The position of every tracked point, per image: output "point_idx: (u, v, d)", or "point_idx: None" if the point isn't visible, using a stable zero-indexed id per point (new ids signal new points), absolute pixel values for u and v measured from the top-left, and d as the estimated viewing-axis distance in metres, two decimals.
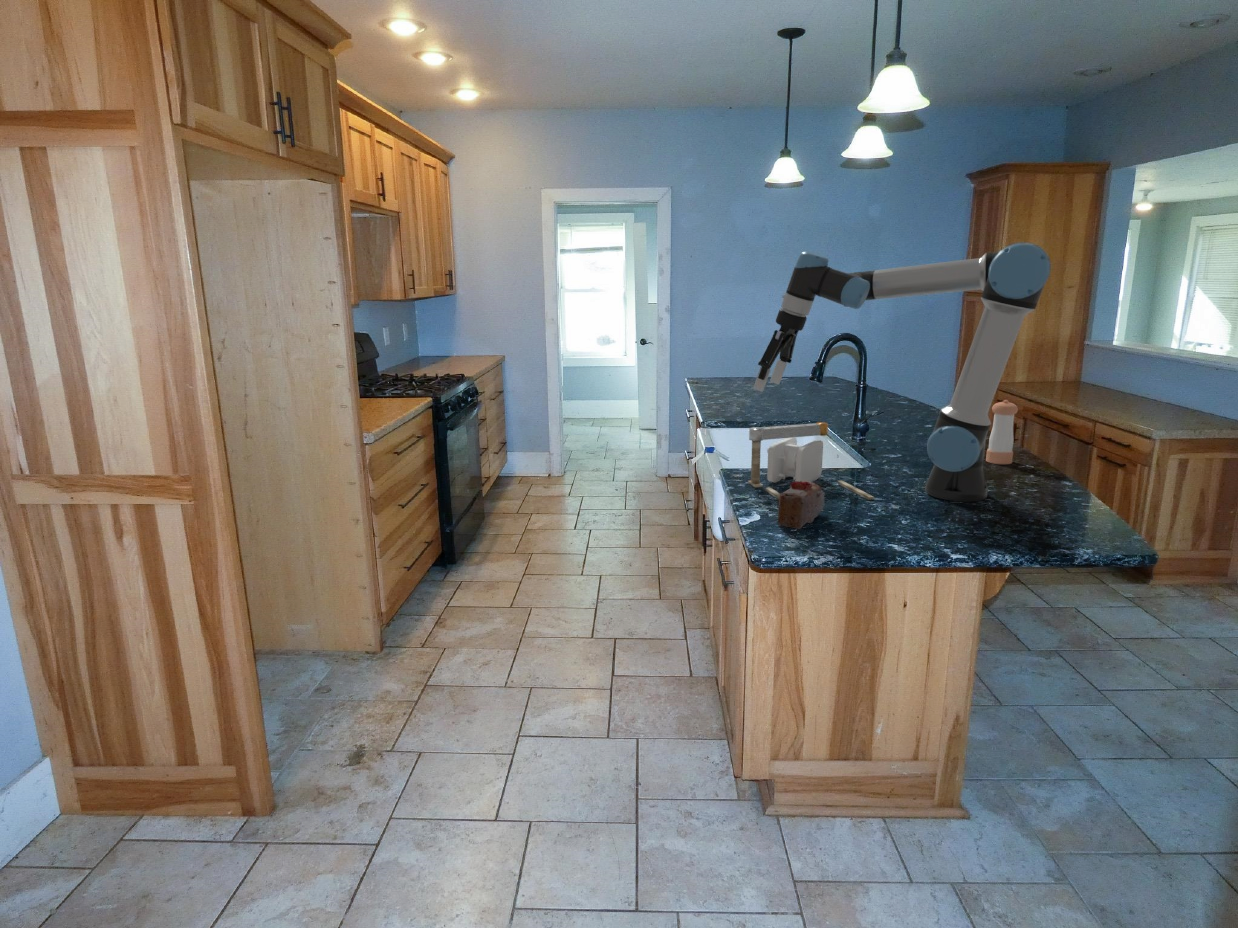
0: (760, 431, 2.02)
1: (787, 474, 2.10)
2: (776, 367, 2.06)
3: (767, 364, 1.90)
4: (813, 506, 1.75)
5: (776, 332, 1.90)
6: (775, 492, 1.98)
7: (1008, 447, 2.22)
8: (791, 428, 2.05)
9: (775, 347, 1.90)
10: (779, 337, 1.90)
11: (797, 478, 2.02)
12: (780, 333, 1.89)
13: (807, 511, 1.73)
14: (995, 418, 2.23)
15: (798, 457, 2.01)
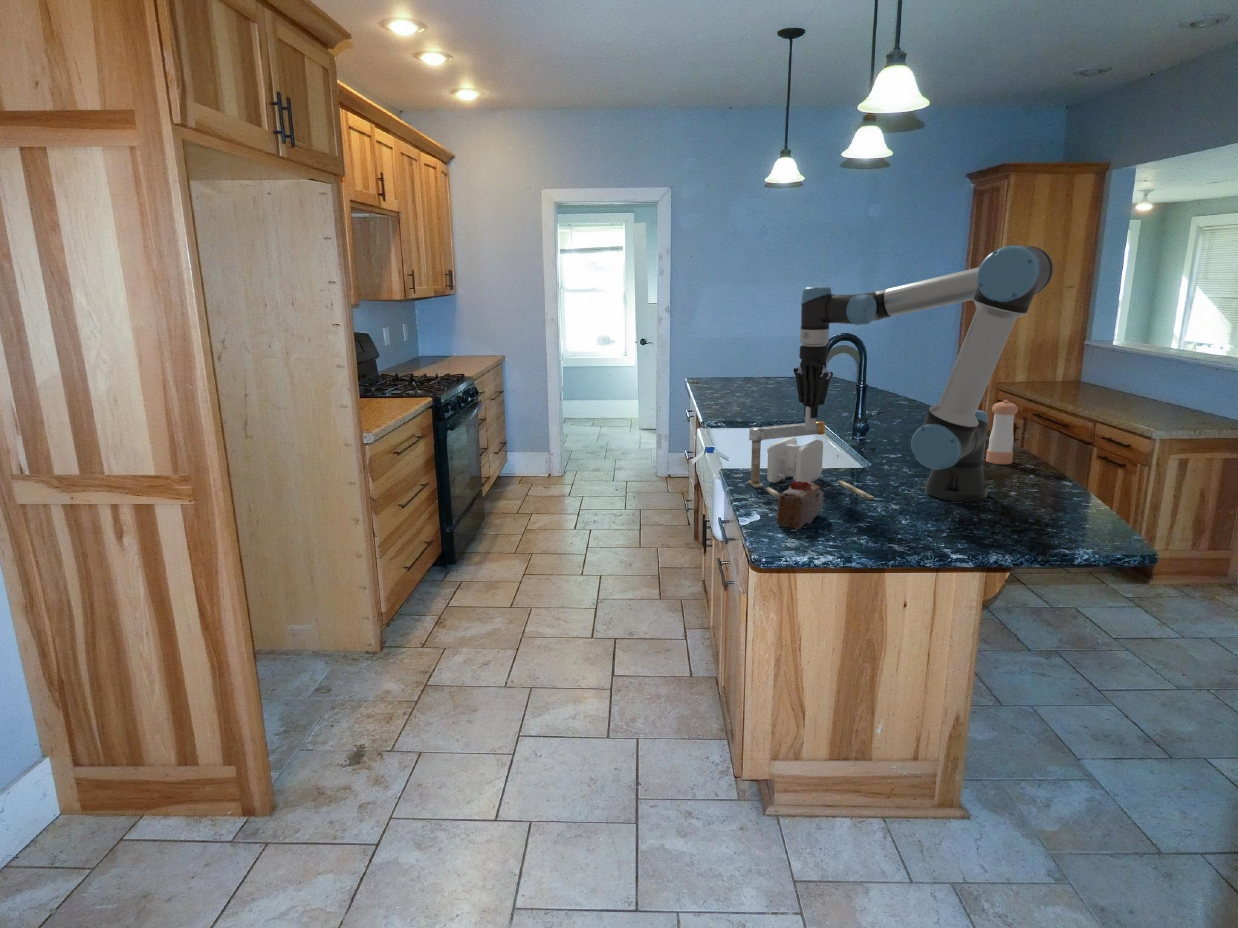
0: (760, 431, 2.02)
1: (787, 474, 2.10)
2: None
3: (823, 402, 2.02)
4: (812, 506, 1.75)
5: (827, 375, 1.97)
6: (775, 492, 1.98)
7: (1008, 447, 2.22)
8: (790, 427, 2.06)
9: (827, 387, 2.00)
10: (829, 378, 1.98)
11: (797, 478, 2.02)
12: (830, 374, 1.98)
13: (807, 511, 1.73)
14: (995, 418, 2.23)
15: (798, 457, 2.01)
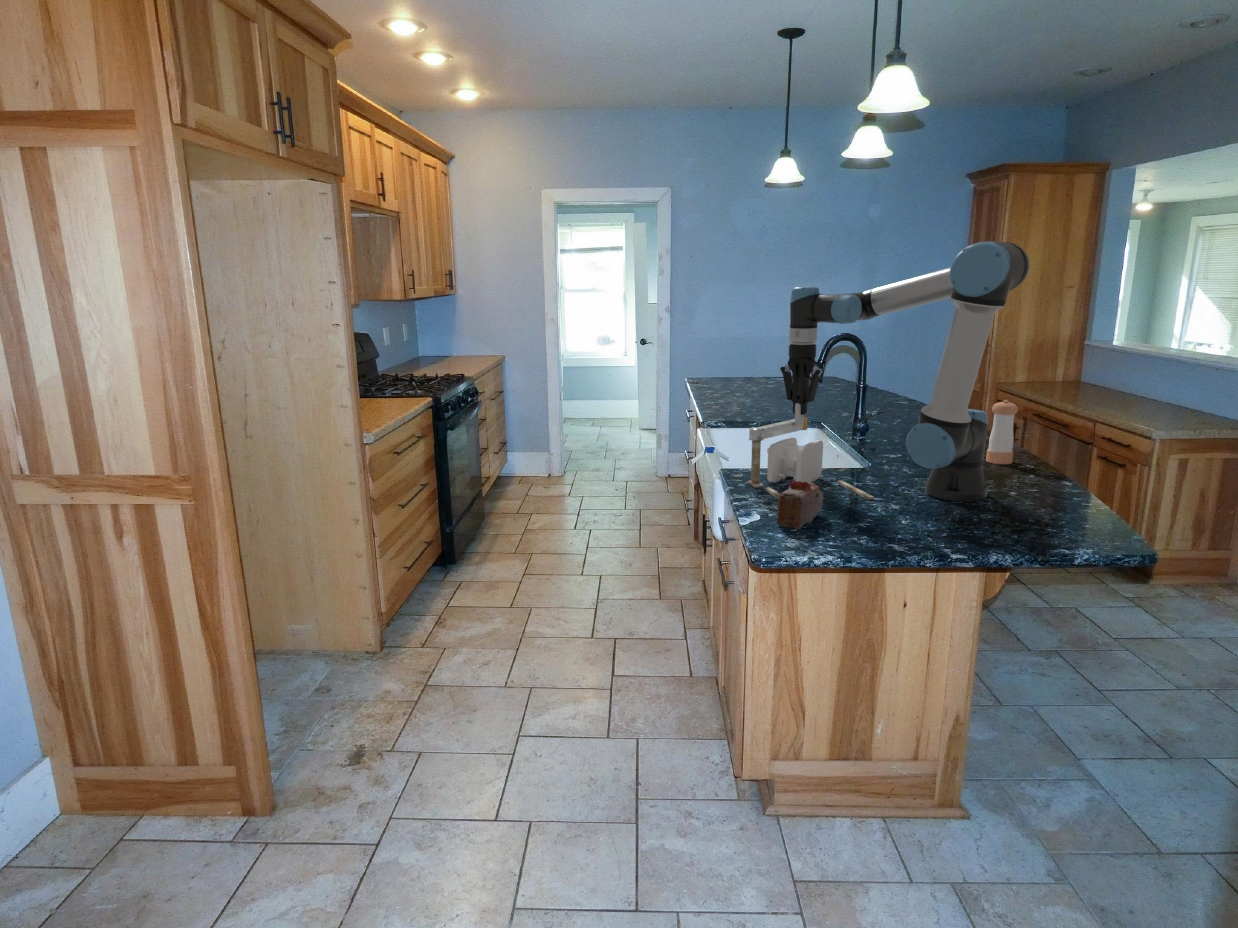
0: (762, 431, 2.02)
1: (787, 474, 2.10)
2: None
3: (813, 398, 2.08)
4: (812, 506, 1.75)
5: (819, 372, 2.03)
6: (775, 492, 1.98)
7: (1008, 447, 2.22)
8: (783, 425, 2.09)
9: (817, 383, 2.06)
10: (820, 374, 2.05)
11: (797, 478, 2.02)
12: (822, 371, 2.04)
13: (807, 511, 1.73)
14: (995, 418, 2.23)
15: (798, 457, 2.01)
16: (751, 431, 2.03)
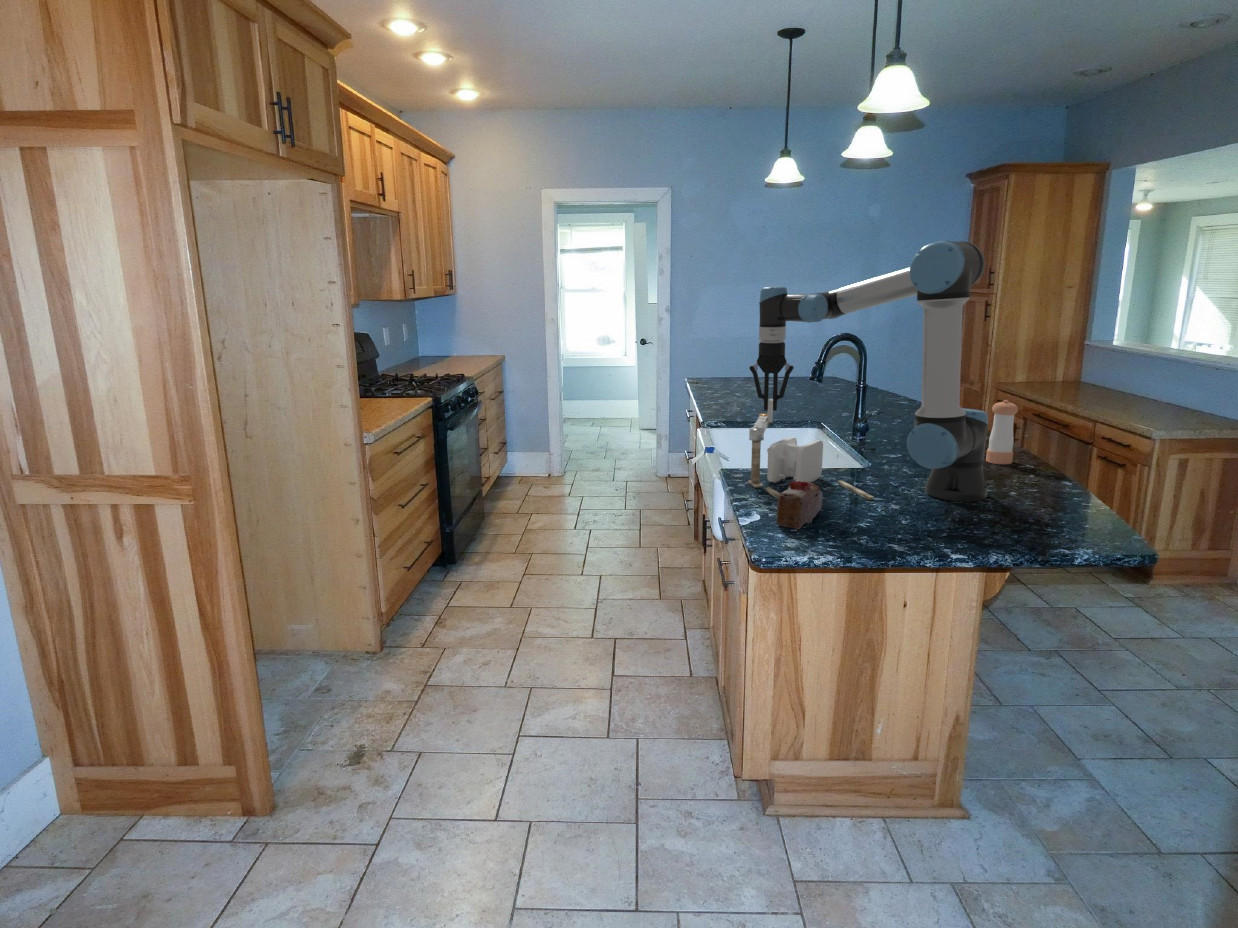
0: (763, 430, 2.03)
1: (787, 474, 2.10)
2: None
3: None
4: (812, 506, 1.75)
5: (793, 368, 2.12)
6: (775, 492, 1.98)
7: (1008, 447, 2.22)
8: (764, 423, 2.13)
9: None
10: None
11: (797, 478, 2.02)
12: None
13: (806, 511, 1.73)
14: (995, 418, 2.23)
15: (798, 457, 2.01)
16: (755, 432, 2.02)
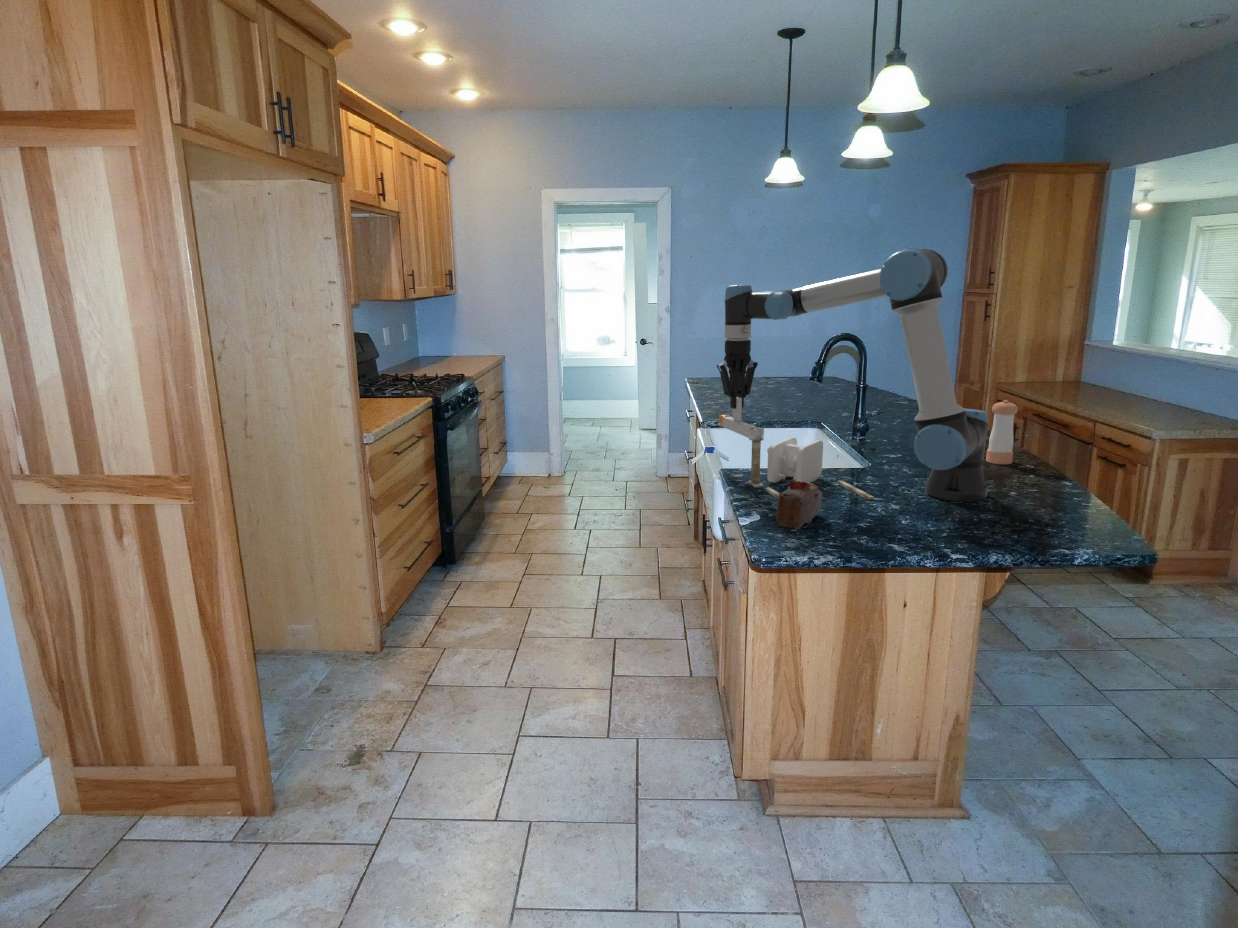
0: None
1: (787, 474, 2.10)
2: None
3: None
4: (811, 506, 1.75)
5: None
6: (775, 492, 1.98)
7: (1008, 447, 2.22)
8: None
9: None
10: None
11: (797, 478, 2.02)
12: None
13: (806, 511, 1.73)
14: (995, 418, 2.23)
15: (798, 457, 2.01)
16: (759, 431, 2.02)
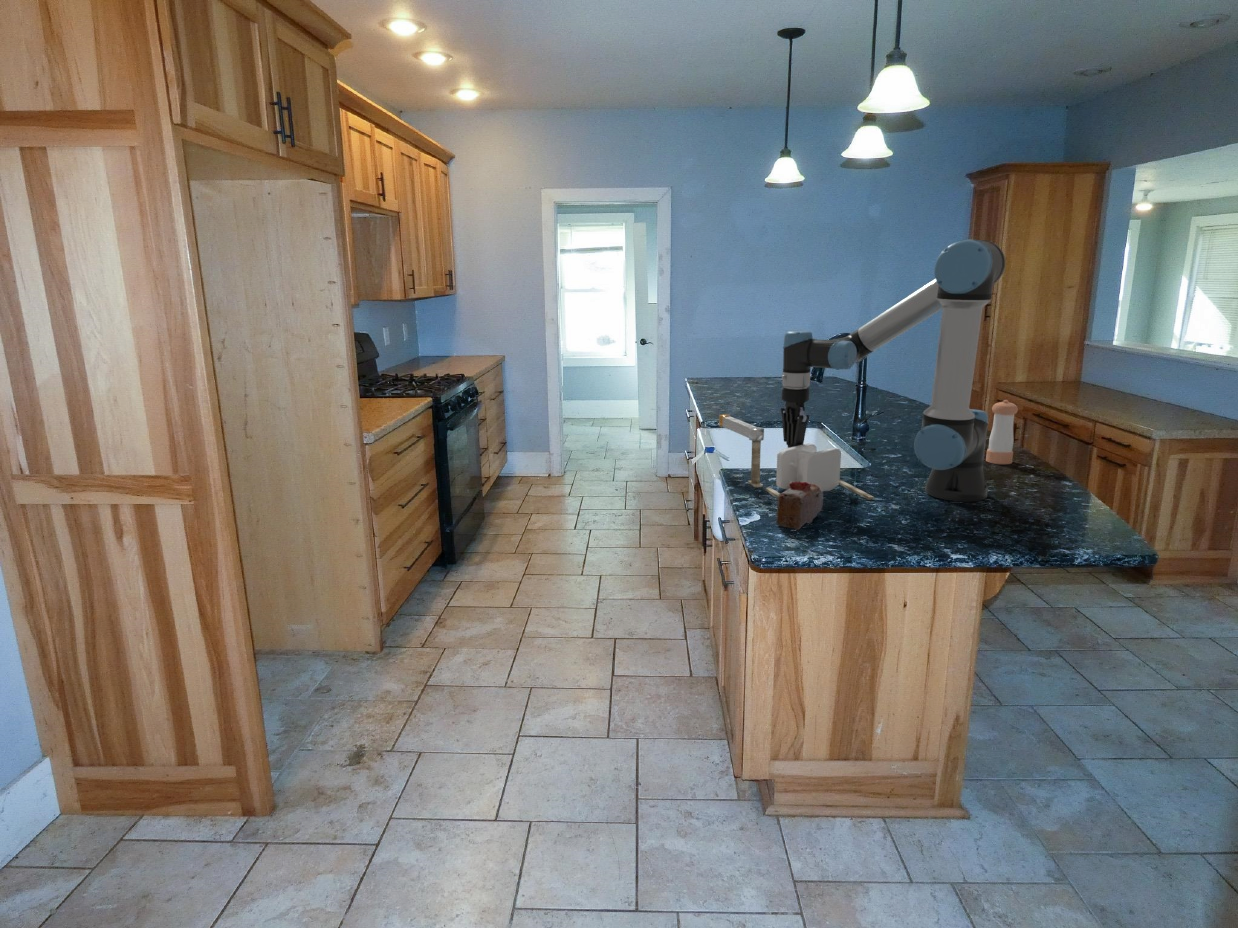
0: None
1: None
2: None
3: (802, 443, 2.06)
4: (812, 506, 1.75)
5: (802, 418, 2.01)
6: (775, 492, 1.98)
7: (1008, 447, 2.22)
8: None
9: (804, 429, 2.03)
10: (806, 420, 2.02)
11: None
12: (806, 417, 2.01)
13: (806, 511, 1.73)
14: (995, 418, 2.23)
15: (805, 464, 1.93)
16: (759, 431, 2.02)
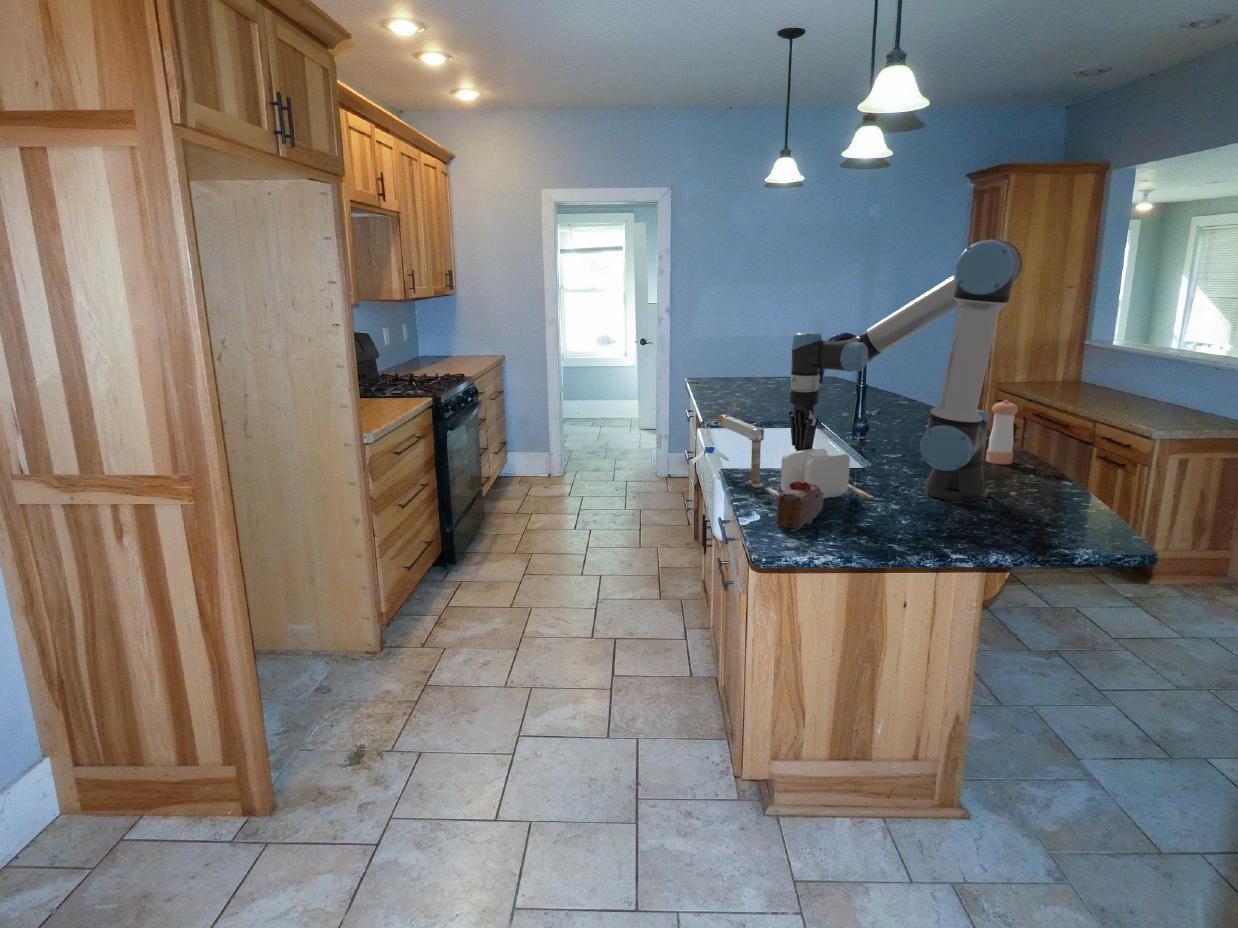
0: None
1: None
2: None
3: (811, 447, 2.01)
4: (812, 506, 1.75)
5: (812, 422, 1.96)
6: (775, 492, 1.98)
7: (1008, 447, 2.22)
8: None
9: (813, 432, 1.99)
10: (815, 424, 1.97)
11: None
12: (815, 421, 1.96)
13: (806, 511, 1.73)
14: (995, 418, 2.23)
15: (806, 469, 1.89)
16: (759, 431, 2.02)
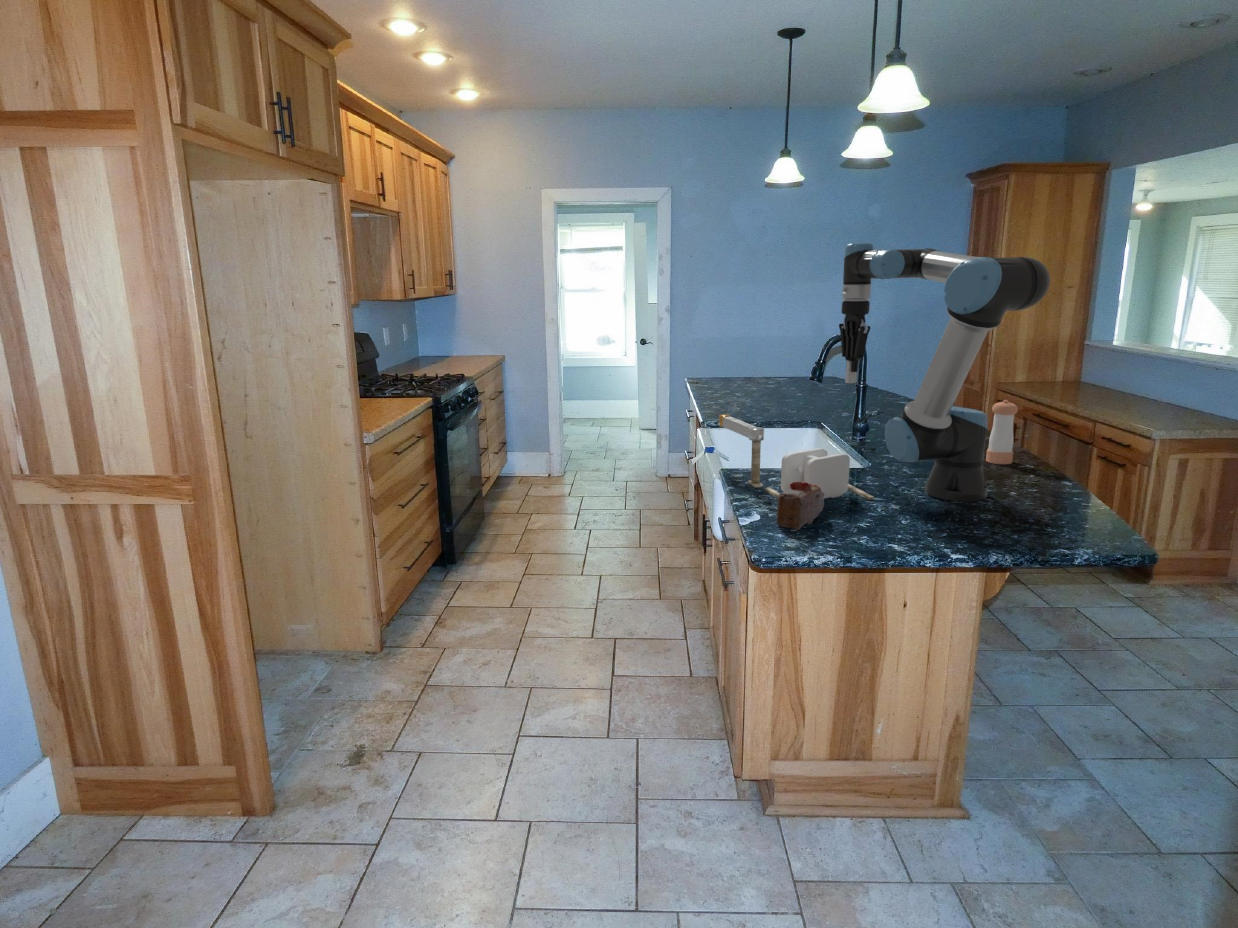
0: None
1: None
2: None
3: (862, 356, 2.09)
4: (812, 507, 1.75)
5: (864, 329, 2.04)
6: (775, 492, 1.98)
7: (1008, 447, 2.22)
8: None
9: (865, 341, 2.06)
10: (867, 332, 2.05)
11: None
12: (867, 328, 2.04)
13: (807, 511, 1.73)
14: (995, 418, 2.23)
15: (806, 469, 1.89)
16: (759, 431, 2.02)
